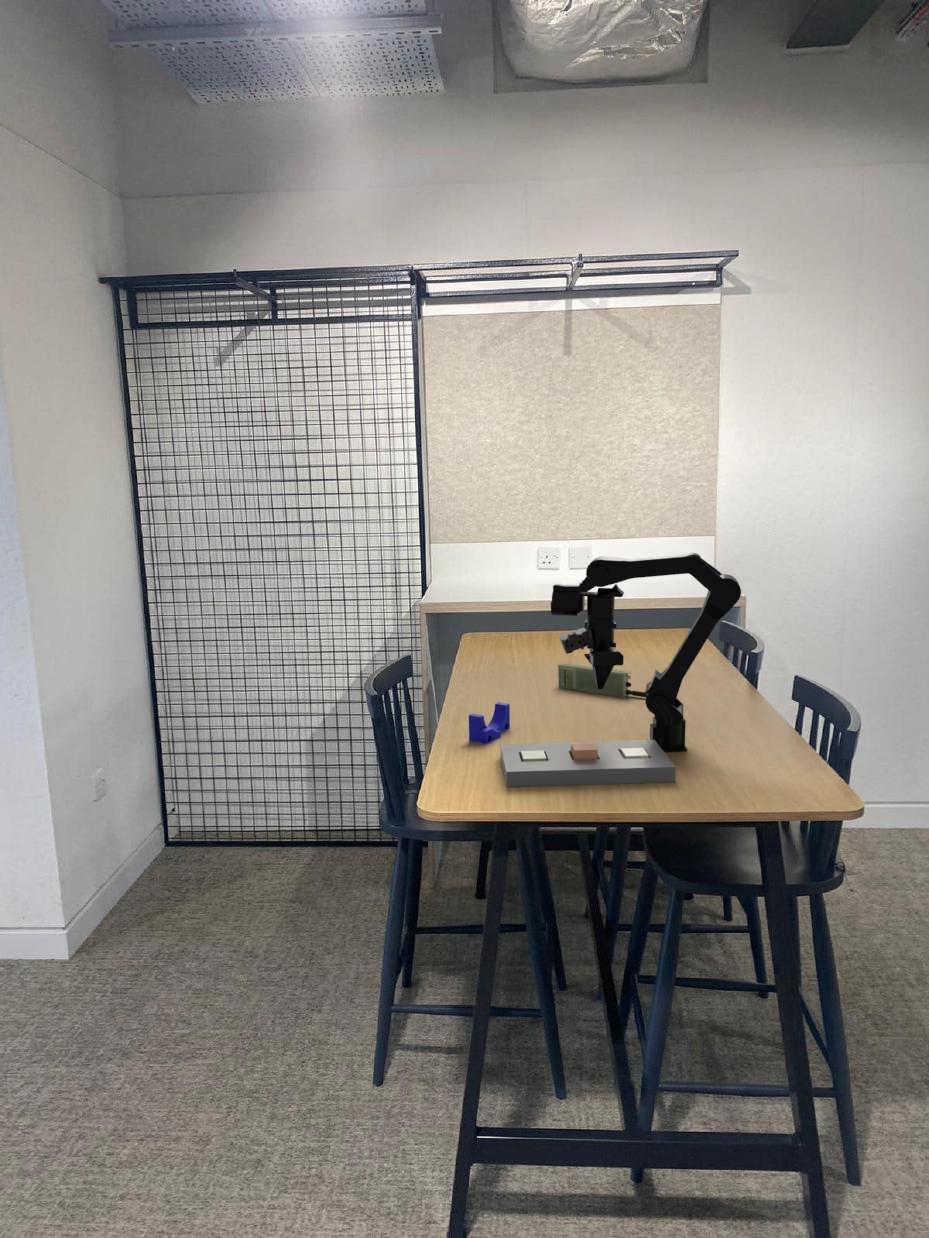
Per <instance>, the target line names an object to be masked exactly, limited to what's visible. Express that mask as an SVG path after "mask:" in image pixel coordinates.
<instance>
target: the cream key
mask: <svg viewBox="0 0 929 1238" xmlns="http://www.w3.org/2000/svg"><path fill="white" fill-rule="evenodd" d="M621 755H622V757H623V758H624V759H628V758H649V755H648V754H647V753H646V751H645V750H644V748H621Z"/></svg>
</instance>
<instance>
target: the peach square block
mask: <svg viewBox="0 0 929 1238" xmlns="http://www.w3.org/2000/svg"><path fill="white" fill-rule="evenodd" d="M585 742H586V743H571V754H572V756H573V758H574V760H593V759H598V750H597V748H596V746H595V744H594V742H593V741H585Z"/></svg>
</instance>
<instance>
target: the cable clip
mask: <svg viewBox="0 0 929 1238" xmlns="http://www.w3.org/2000/svg"><path fill="white" fill-rule="evenodd" d="M510 708H511V706H510V703H505V702H498V701H497V702H496V703H494V710H493V714H492V718H491V719H490V722H489V723H488V724H486V721H485V715H482V714H478V713H471V714H468V741H470V742H475V743H480V744H485V745H487V744H489V743H491V742H494V741H495V740H497V739H499V738H502V733H503V732H506V731H507V730H510V728H511V721H510V720H511V718H510V717H511V716H510V711H511V710H510Z"/></svg>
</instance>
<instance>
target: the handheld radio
mask: <svg viewBox="0 0 929 1238" xmlns="http://www.w3.org/2000/svg"><path fill="white" fill-rule="evenodd" d="M557 666H558V667H557V668H558V671H557V672H558V673H557V674H558V688H562V689H569V690H576V691H582V692H588V693H596V694H602V695H610V696H616V697H623V698H624V697H628V696H630V695H631V696H633V697H640V698H646V693H645V691H640V690H630V689H629V688H631V687H632V683H631V682H629V680H630V679H631V678H632V677H631V675H630V674H631V673H632V671H628V670H621V669H614V668H613V669H612V671H611V673H610V675H609V677H608V679H607V681H606V683H605V685H604V687H603V689H598V688H597V685H596V681H595V676H594V672H593V667H592V666H591V665H590V666H589V665H581V664H580V665H579V664H572V663H565V662H560V663H559V664H557Z"/></svg>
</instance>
